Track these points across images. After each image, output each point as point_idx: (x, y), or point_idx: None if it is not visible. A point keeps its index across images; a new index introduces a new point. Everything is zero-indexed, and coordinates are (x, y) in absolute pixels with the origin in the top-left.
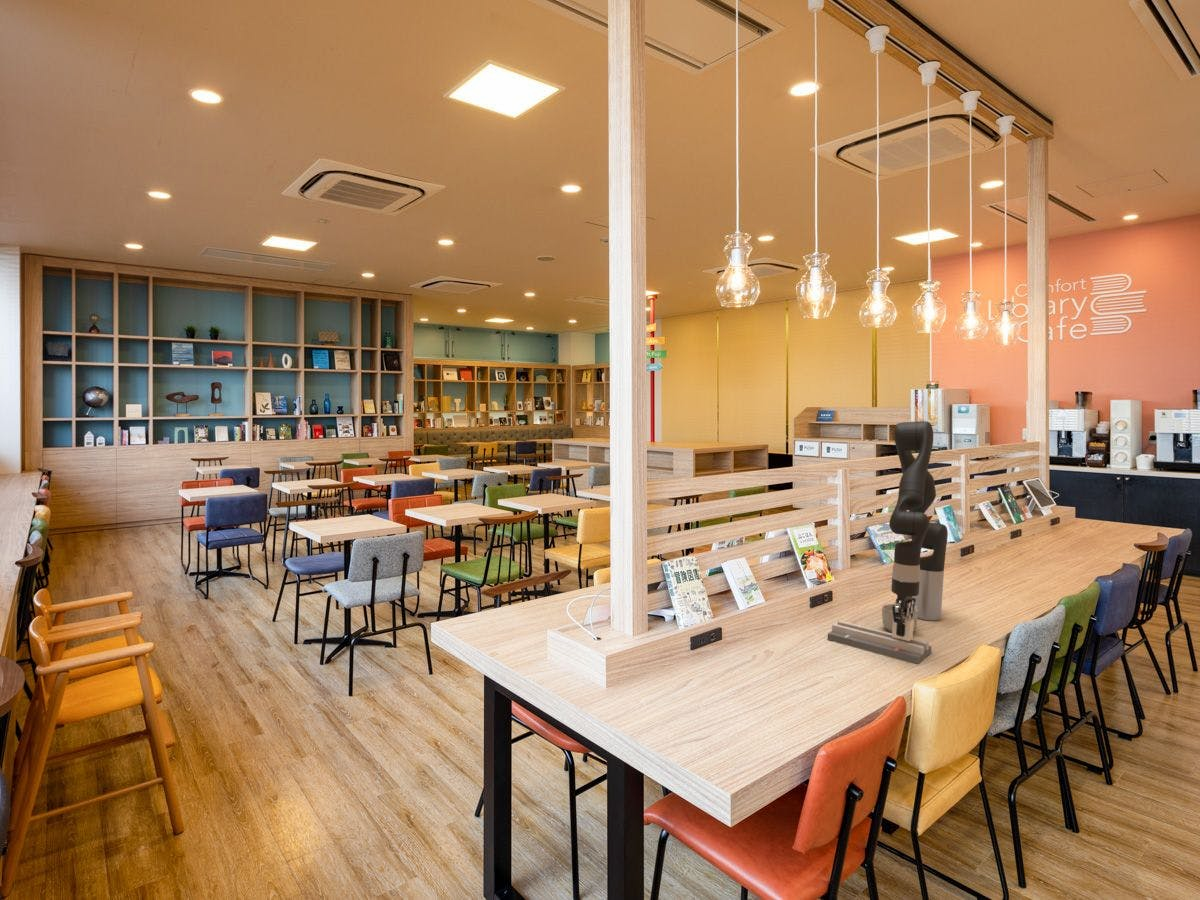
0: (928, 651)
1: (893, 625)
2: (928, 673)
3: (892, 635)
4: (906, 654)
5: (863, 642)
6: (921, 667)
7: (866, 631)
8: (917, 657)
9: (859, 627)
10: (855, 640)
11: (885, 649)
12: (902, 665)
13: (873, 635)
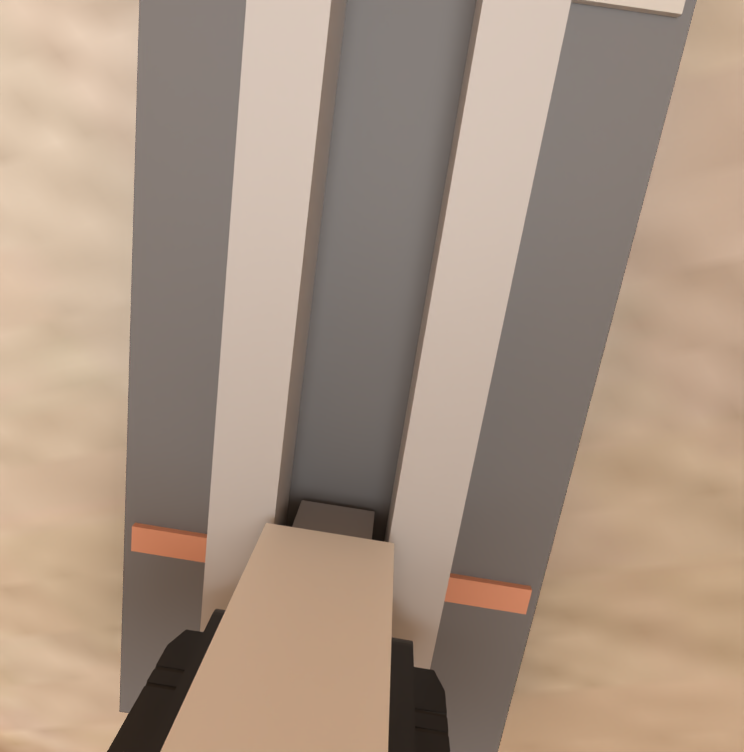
0: None
1: (218, 643)
2: (21, 734)
3: (261, 538)
4: (122, 624)
5: (149, 195)
6: (101, 688)
7: (453, 150)
8: (122, 702)
9: (481, 19)
10: (146, 86)
11: (129, 442)
12: (33, 573)
13: (226, 300)
